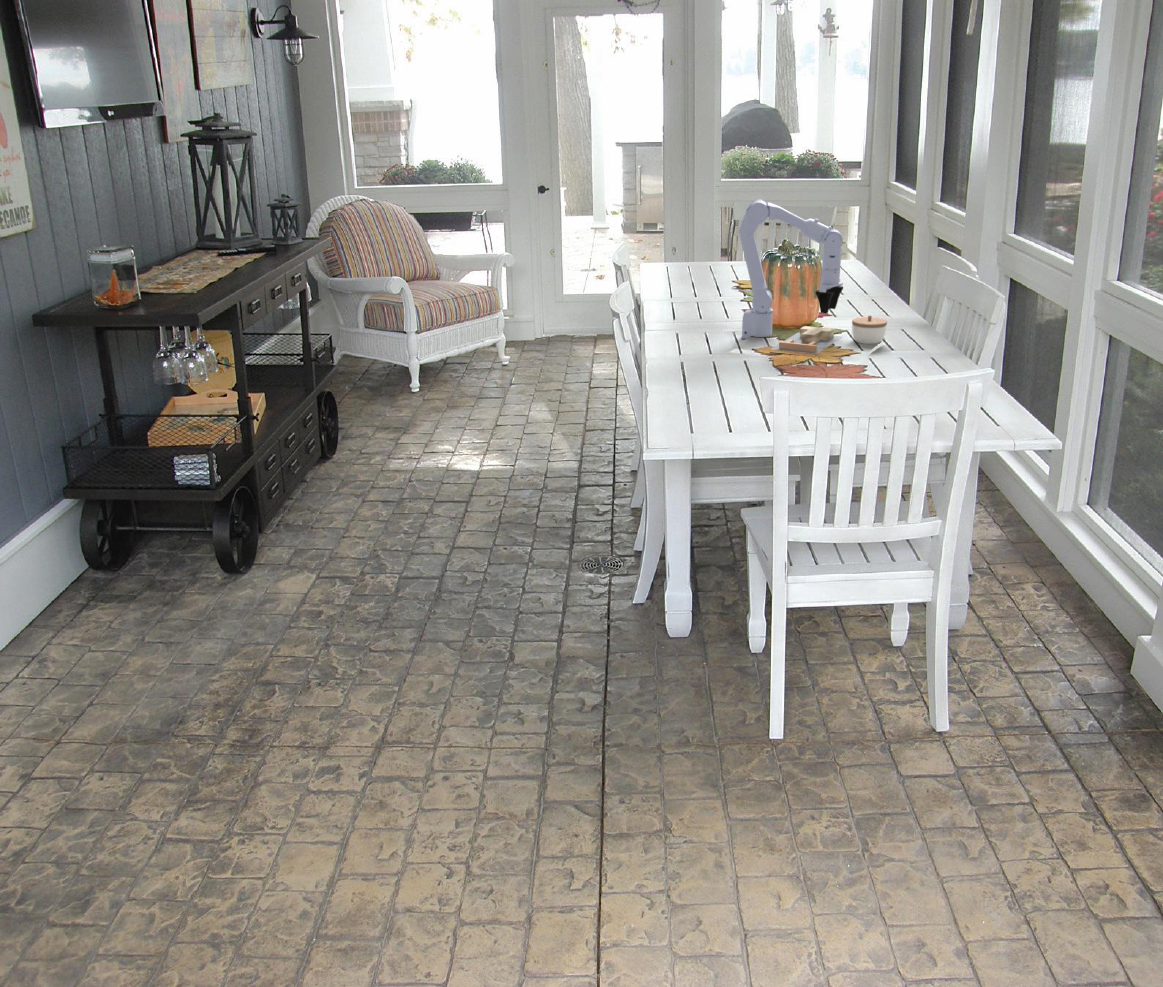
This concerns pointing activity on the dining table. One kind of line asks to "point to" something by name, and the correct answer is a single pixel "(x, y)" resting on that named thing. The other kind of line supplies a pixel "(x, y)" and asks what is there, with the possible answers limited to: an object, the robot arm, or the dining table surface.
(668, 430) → the dining table surface
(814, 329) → the t block
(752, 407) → the dining table surface
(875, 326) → the lidded jar
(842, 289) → the robot arm
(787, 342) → the board
